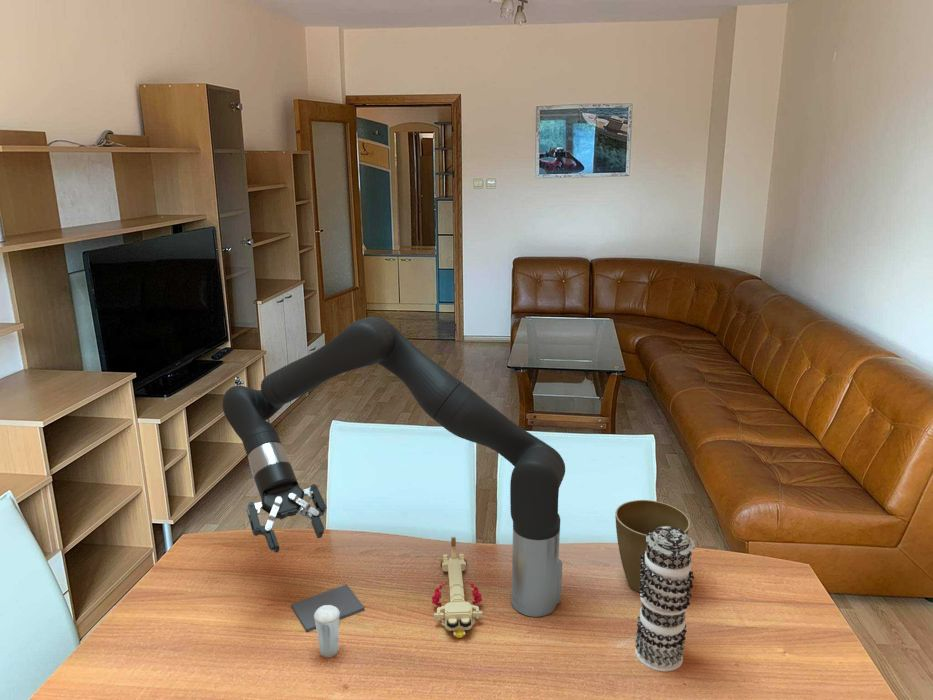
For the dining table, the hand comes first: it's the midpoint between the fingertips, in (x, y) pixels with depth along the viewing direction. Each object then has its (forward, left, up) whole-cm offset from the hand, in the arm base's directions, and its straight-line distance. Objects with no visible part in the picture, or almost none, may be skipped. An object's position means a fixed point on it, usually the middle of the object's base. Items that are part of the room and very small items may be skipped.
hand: (299, 543), depth 128 cm
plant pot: (-65, +28, -17) cm, 73 cm away
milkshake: (-1, +11, -17) cm, 21 cm away
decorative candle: (-51, +44, -17) cm, 70 cm away
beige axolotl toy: (-28, +11, -17) cm, 35 cm away
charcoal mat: (-5, -1, -17) cm, 18 cm away
